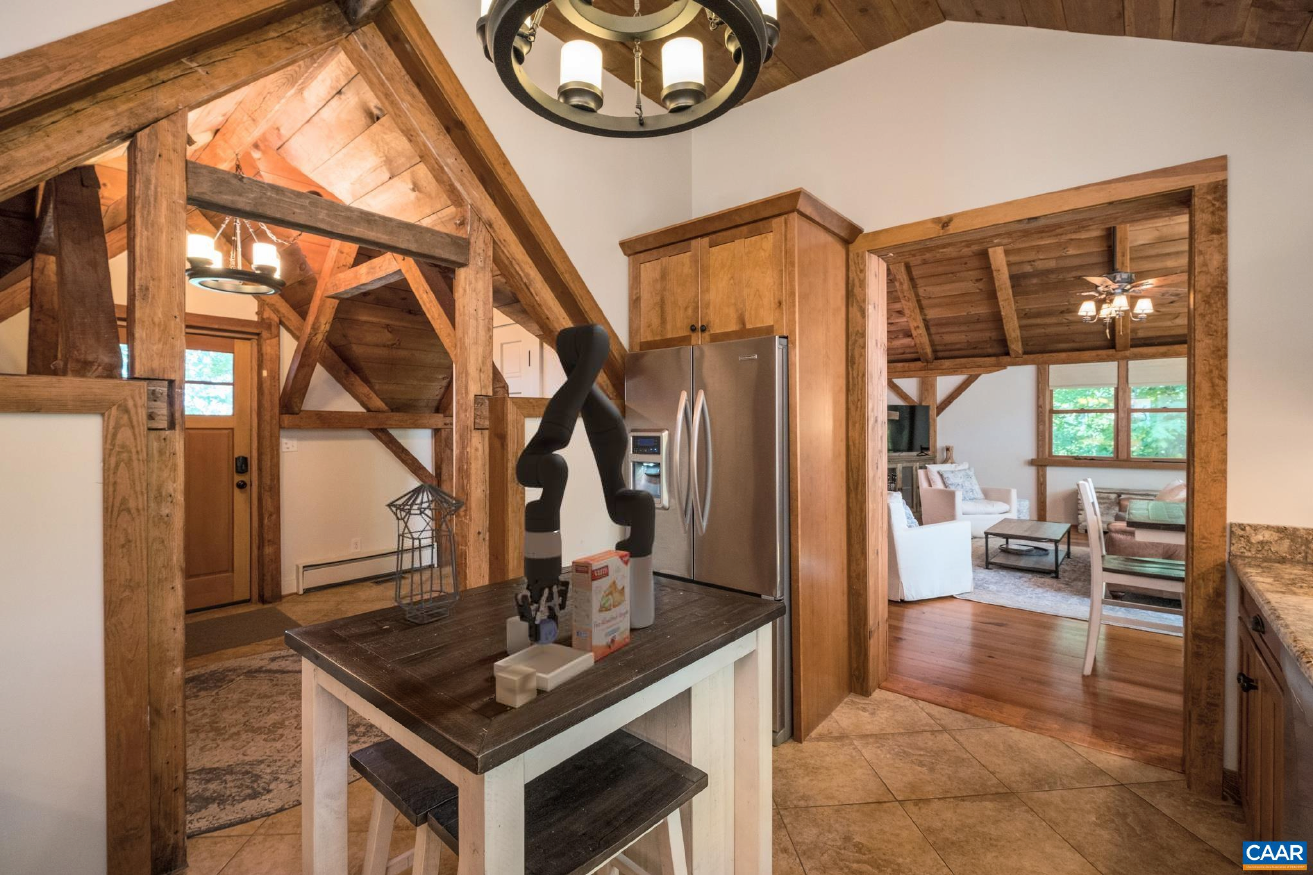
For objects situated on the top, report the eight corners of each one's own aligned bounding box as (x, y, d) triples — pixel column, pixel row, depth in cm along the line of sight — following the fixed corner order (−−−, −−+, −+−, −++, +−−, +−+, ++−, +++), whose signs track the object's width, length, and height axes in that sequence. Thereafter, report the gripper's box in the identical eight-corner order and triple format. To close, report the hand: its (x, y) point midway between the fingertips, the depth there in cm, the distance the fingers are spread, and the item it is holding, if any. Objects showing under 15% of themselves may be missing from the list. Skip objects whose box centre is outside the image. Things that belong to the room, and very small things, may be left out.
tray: (542, 652, 127) (542, 640, 127) (594, 664, 120) (593, 652, 120) (493, 675, 115) (493, 663, 115) (548, 691, 108) (547, 678, 108)
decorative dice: (529, 641, 117) (529, 621, 117) (545, 636, 120) (545, 617, 120) (541, 646, 115) (541, 626, 115) (558, 640, 118) (557, 621, 118)
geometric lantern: (384, 618, 152) (382, 484, 152) (441, 604, 164) (438, 479, 163) (413, 631, 142) (411, 487, 141) (471, 615, 154) (469, 482, 153)
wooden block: (516, 691, 109) (516, 664, 109) (536, 697, 106) (536, 669, 106) (496, 701, 104) (495, 673, 104) (516, 708, 102) (516, 679, 102)
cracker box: (593, 664, 120) (592, 563, 120) (571, 659, 123) (569, 560, 123) (632, 643, 132) (630, 550, 132) (610, 638, 135) (609, 548, 135)
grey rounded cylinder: (518, 645, 131) (518, 614, 131) (535, 649, 129) (534, 618, 129) (502, 653, 127) (501, 621, 127) (519, 657, 125) (518, 624, 125)
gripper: (531, 561, 109) (532, 652, 109) (580, 548, 122) (580, 630, 122) (502, 557, 113) (503, 645, 113) (552, 544, 125) (553, 624, 126)
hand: (543, 636), depth 117 cm, fingers closed on decorative dice, 4 cm apart
